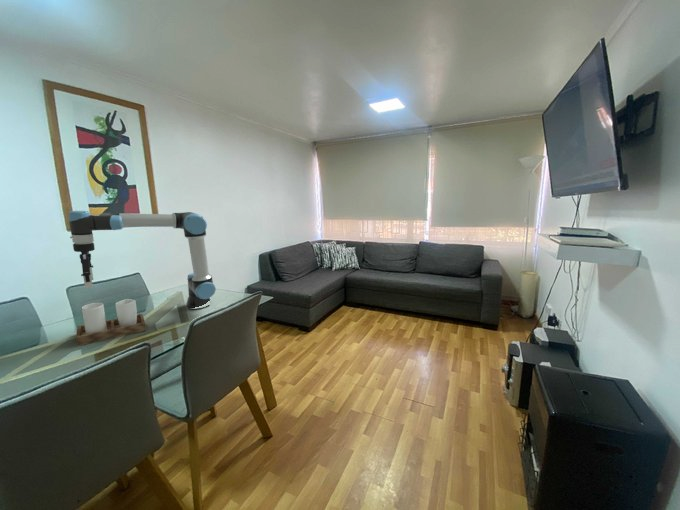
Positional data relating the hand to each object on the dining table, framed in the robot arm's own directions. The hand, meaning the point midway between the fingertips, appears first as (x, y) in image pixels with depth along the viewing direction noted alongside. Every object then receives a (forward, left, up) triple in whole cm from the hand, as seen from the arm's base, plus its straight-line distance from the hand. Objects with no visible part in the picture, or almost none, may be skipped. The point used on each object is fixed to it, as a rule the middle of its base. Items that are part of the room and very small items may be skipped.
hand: (89, 284), depth 135 cm
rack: (-7, 0, -29) cm, 29 cm away
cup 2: (-13, -1, -28) cm, 31 cm away
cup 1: (0, 0, -28) cm, 28 cm away
